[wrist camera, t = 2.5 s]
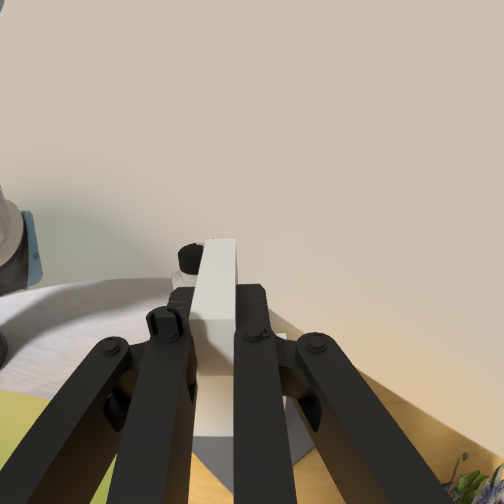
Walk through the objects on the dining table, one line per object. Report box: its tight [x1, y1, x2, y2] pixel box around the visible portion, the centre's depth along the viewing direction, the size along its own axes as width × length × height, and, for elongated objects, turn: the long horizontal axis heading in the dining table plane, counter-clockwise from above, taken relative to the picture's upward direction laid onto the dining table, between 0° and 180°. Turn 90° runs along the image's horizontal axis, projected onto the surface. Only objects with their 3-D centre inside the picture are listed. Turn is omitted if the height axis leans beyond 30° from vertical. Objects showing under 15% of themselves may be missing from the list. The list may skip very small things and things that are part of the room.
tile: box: [193, 333, 287, 437], centre depth 29 cm, size 3×10×13 cm, turn 93°
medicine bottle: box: [171, 243, 205, 290], centre depth 52 cm, size 7×7×12 cm
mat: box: [192, 397, 316, 495], centre depth 38 cm, size 26×20×1 cm
